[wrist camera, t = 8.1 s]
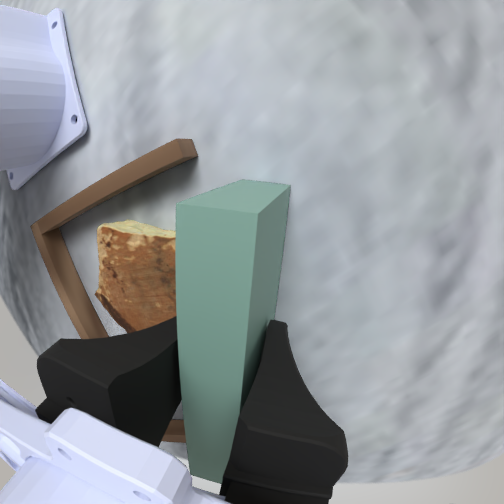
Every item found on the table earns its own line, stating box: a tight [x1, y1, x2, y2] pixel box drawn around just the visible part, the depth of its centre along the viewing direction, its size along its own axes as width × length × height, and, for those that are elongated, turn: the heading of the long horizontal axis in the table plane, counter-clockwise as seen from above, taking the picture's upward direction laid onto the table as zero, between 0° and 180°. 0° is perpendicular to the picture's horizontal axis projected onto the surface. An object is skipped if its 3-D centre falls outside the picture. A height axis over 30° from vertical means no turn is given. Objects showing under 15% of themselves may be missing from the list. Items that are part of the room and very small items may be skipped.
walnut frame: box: [31, 139, 198, 443], centre depth 15 cm, size 16×11×2 cm
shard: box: [95, 219, 177, 333], centre depth 16 cm, size 11×8×2 cm
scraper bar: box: [175, 180, 291, 484], centre depth 12 cm, size 12×2×6 cm, turn 175°
